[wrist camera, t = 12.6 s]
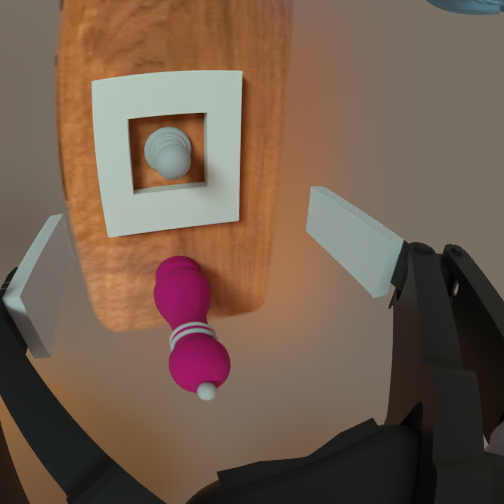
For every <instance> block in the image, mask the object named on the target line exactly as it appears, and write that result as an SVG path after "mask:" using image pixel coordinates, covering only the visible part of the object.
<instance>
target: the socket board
mask: <svg viewBox="0 0 504 504" xmlns="http://www.w3.org/2000/svg"><path fill="white" fill-rule="evenodd" d="M241 101H242V71H226V70H201V71H174V72H159V73H148V74H138V75H129V76H122V77H115V78H108V79H102V80H96V81H92V110H93V128H94V141H95V152H96V161H97V170H98V178H99V185H100V192H101V199H102V205H103V211H104V217H105V222H106V228H107V233H108V238H109V237H116V236H123V235H130V234H137V233H144V232H152V231H159V230H167V229H175V228H183V227H191V226H199V225H207V224H216V223H224V222H233V221H239V186H240V139H241ZM186 113H204V170H205V182H196V183H186V184H176V185H167V186H159V187H151V188H143V189H135V190H134V183H133V172H132V161H131V148H130V132H129V119H133V118H141V117H150V116H160V115H172V114H186Z"/></svg>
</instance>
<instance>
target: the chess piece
mask: <svg viewBox="0 0 504 504" xmlns="http://www.w3.org/2000/svg"><path fill="white" fill-rule="evenodd" d="M190 153H191V143H190V140H189V138H188V137H187V135H186V134H185V133H184V132H183V131H181V130H180V129H178V128H174V127H164V128H160V129H158V130H156V131H155V132H153V133H152V134H151V135H150V136H149V138H148V139H147V141H146V144H145V147H144V155H145V159H146V161H147V163H148V164H149V165H150V166H151V167H152V168H153V169H155V170H156V171H158V173H159V174H160V175H161V176H162V177H164V178H166V179H169V180H175V179H178V178H180V177H182V176H184V175H185V174H186V173H187V172H188V170H189V168H190V166H191V157H190Z"/></svg>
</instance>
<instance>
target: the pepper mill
mask: <svg viewBox="0 0 504 504" xmlns="http://www.w3.org/2000/svg"><path fill="white" fill-rule="evenodd" d="M154 300H155V304H156V307H157V309H158V310H159V312H160V314H161V315H162V316H163V317H164V319H165V320H166V321H167V322H168V323H169V324H170V326H171V328H172V331H173V332H172V334H171V336H170V346H171V354H170V357H169V370H170V373H171V376H172V377H173V379H174V381H175V382H176V383H177V384H178V385H179V386H180V387H182V388H183V389H185V390H187V391H190V392H195V393H198V395H199V397H200V398H201V399H203V400H206V401H209V400H212V399H213V398H215V396H216V394H217V389H216V388H218V387H219V386H221V385H222V384H223V383H224V382H225V380H226V379H227V377H228V375H229V372H230V358H229V355H228V352H227V350H226V349H225V347H224V346H223V345H222V344H221V343H219V342H218V338H217V336H216V333H215V330H214V329H213V328H212V327H211V326H210V325H208V323H207V319H206V315H207V312H208V309H209V306H210V301H211V291H210V287H209V283H208V281H207V279H206V278H205V277H204V276H203V275H202V274H201V271H200V268H199V266H198V265H197V263H196V262H195V261H193V260H192V259H190V258H188V257H185V256H175V257H171V258H168V259H166V260H165V261H163V262H162V263H161V264H160V266H159V267H158V269H157V271H156V285H155V288H154Z"/></svg>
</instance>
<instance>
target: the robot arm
mask: <svg viewBox="0 0 504 504" xmlns="http://www.w3.org/2000/svg"><path fill="white" fill-rule="evenodd" d="M427 1H428V2H429V3H430V4H432V5H434V6H436V7H438V8H441V9H443V10H446V11H449V12H454V13H459V14H468V15H494V14H499V13H500V11H501V12H504V0H427ZM306 232H308V233H309V234H310V235H311V236H312V237H313V238H314V239H315V240H316V241H317V242H318V243H319V244H320V245H321V246H322V247H323V248H324V249H326V251H328V253H330V254H331V255H332V256H333V257H334V258H335V259H336V260H337V261H338V262H339V263H340V264H341V265H342V266H343V267H344V268H345V269H346V270H347V271H348V272H349V273H350V274H351V275H352V276H353V277H354V278H355V279H356V280H357V281H358V282H359V283H360V284H361V285H362V286H363V287H364V288H365V289H366V290H367V291H368V292H369V293H370V294H371V295H372V296H373V297H374V298H376V297H380V296H383V295H386V294H387V292H388V289H389V286H390V283H392V284H393V285H394V286H395V287H396V288H395V291H394V294H393V296H392V299H391V302H390V304H389V308H391V306H392V305H393V351H392V370H391V382H390V394H389V404H388V412H387V417H386V420H385V423H384V425H377V423H376V422H375V420H374V419H373V418H371V419H369V420H367V421H365V422H363V423H361V424H358V425H356V426H354V427H352V428H350V429H348V430H345V431H343V432H341V433H339V434H338V435H337V436H335V437H334V438H333V439H331V440H330V441H329V442H327V443H326V444H325V445H323V446H322V447H321V448H319V449H318V450H316V451H315V452H313V453H312V454H311V455H309V456H307V457H302V458H294V459H284V460H272V461H259V462H255V463H252V464H248V465H244V466H240V467H236V468H232V469H228V470H223V471H218V472H217V475H218V479H219V480H217V481H215V482H213V483H211V484H209V485H207V486H206V487H204V488H203V489H201V490H200V491H198V492H197V493H196V494H195V495H193V496H192V497H191V498H190V499H189V500H188V501H187V503H186V504H504V301H503V300H502V298H501V297H500V296H499V294H498V293H497V291H496V290H495V288H494V287H493V286H492V284H491V283H490V281H489V280H488V279H487V277H486V276H485V275H484V273H483V272H482V271H481V270H480V268H479V267H478V266H477V264H476V263H475V262H474V261H473V259H472V258H471V257H470V256H469V254H468V253H467V252H466V251H465V250H463V249H462V248H461V247H460V246H457V245H452V244H447V245H446V246H445V248H444V251H443V254H436V253H435V251H434V250H433V249H432V248H431V247H429V246H428V245H426V244H423V243H418V242H412V243H410V244H409V243H407V242H406V241H405V240H403V239H402V238H401V237H399V236H397V235H396V234H395V233H393V232H392V231H391V230H389V229H388V228H386V227H385V226H383V225H382V224H381V223H379V222H377V221H376V220H375V219H373V218H372V217H370V216H369V215H367V214H366V213H364V212H363V211H361V210H360V209H358V208H357V207H355V206H354V205H352V204H350V203H349V202H347V201H346V200H344V199H343V198H341V197H339V196H338V195H336V194H335V193H333V192H332V191H330V190H328V189H327V188H325V187H323V186H313V187H311V193H310V202H309V211H308V219H307V227H306ZM75 262H76V261H75V258H74V255H73V251H72V247H71V243H70V240H69V235H68V231H67V227H66V223H65V218H64V214H59V215H54V216H50V217H49V219H48V220H47V222H46V223H45V225H44V227H43V228H42V229H41V231H40V232H39V234H38V236H37V237H36V239H35V241H34V242H33V244H32V245H31V247H30V249H29V250H28V252H27V254H26V255H25V257H24V259H23V260H22V262H21V264H20V266H19V267H16V268H14V269H13V270H12V271H11V272H10V274H8V276H7V278H6V280H5V282H4V284H3V285H2V287H1V290H0V395H1V397H2V399H3V401H4V403H5V405H6V407H7V409H8V410H9V412H10V414H11V416H12V418H13V419H14V421H15V423H16V424H17V426H18V428H19V429H20V431H21V433H22V434H23V436H24V437H25V439H26V441H27V442H28V444H29V445H30V447H31V448H32V450H33V451H34V452H35V454H36V455H37V457H38V458H39V460H40V461H41V462H42V464H43V465H44V467H45V468H46V469H47V471H48V472H49V473H50V474H51V476H52V477H53V478H54V480H55V481H56V482H57V483H58V484H59V486H60V487H61V488H62V489H63V491H64V492H65V493H66V495H67V498H66V500H67V502H68V504H166V503H165V502H164V501H162V500H161V499H160V498H158V497H157V496H156V495H154V494H153V493H151V492H150V491H149V490H148V489H147V488H145V487H144V486H143V485H141V484H140V483H139V482H138V481H137V480H135V479H134V478H133V477H132V476H131V475H130V474H128V473H127V472H126V471H125V470H124V469H123V468H122V467H120V466H119V465H118V464H117V463H116V462H115V461H114V460H113V459H112V458H110V457H109V456H108V455H107V454H106V453H105V452H104V451H103V450H102V449H101V448H100V447H99V446H98V445H97V444H96V443H95V442H94V441H93V440H92V439H91V438H90V437H89V436H88V434H87V433H86V432H85V431H84V430H83V429H82V428H81V427H80V426H79V425H78V423H77V422H76V421H75V420H74V419H73V418H72V417H71V416H70V414H69V413H68V412H67V411H66V409H65V408H64V407H63V406H62V405H61V403H60V402H59V401H58V400H57V398H56V397H55V396H54V395H53V393H52V392H51V391H50V389H49V388H48V387H47V385H46V384H45V383H44V381H43V380H42V379H41V377H40V376H39V374H38V373H37V371H36V370H35V368H34V367H33V365H32V364H31V362H30V361H29V359H28V358H27V356H26V351H27V348H28V349H29V350H30V352H31V353H32V355H33V357H34V358H45V357H51V354H52V349H53V344H54V339H55V334H56V330H57V326H58V321H59V317H60V313H61V309H62V305H63V302H64V298H65V295H66V291H67V288H68V284H69V281H70V278H71V275H72V271H73V268H74V265H75ZM457 284H458V285H459V287H458V292H457V294H456V295H455V293H454V291H455V288H456V286H457ZM483 434H484V436H485V439H486V440H487V442H488V444H489V445H488V446H487V447H486V448H485V449H484V441H483V440H484V439H483ZM0 504H30V503H29V501H28V499H27V496H26V494H25V492H24V490H23V487H22V485H21V483H20V480H19V477H18V475H17V472H16V470H15V467H14V465H13V461H12V459H11V456H10V453H9V450H8V446H7V443H6V440H5V437H4V433H3V430H2V426H1V422H0Z"/></svg>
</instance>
